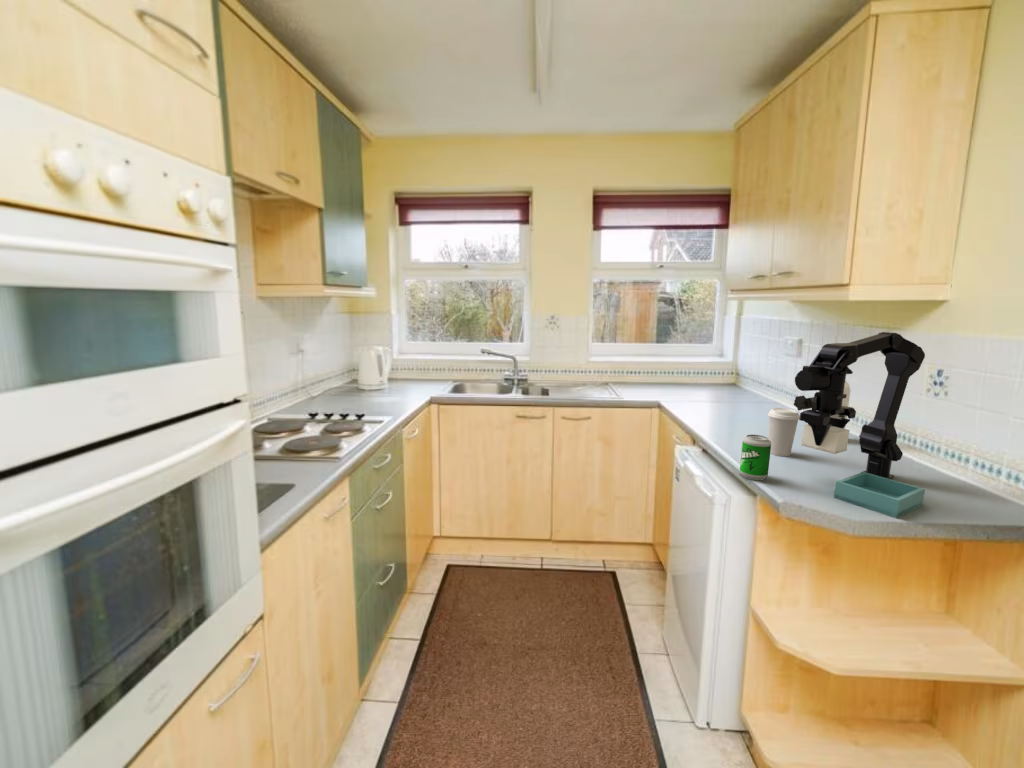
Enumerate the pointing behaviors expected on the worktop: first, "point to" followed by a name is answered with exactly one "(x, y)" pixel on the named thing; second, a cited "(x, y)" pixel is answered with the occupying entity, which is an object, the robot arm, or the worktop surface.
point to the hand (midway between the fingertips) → (824, 443)
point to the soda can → (755, 457)
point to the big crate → (879, 494)
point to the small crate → (827, 439)
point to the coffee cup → (782, 430)
